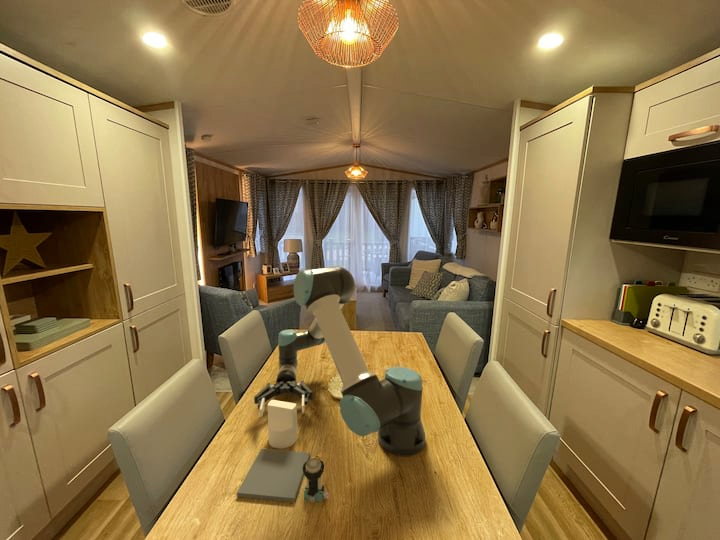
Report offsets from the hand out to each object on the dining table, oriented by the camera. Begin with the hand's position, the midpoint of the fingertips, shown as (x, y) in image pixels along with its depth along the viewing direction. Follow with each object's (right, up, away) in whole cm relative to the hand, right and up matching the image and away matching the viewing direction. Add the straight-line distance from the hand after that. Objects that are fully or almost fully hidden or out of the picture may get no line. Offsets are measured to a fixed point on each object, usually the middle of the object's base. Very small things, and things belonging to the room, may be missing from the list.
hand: (282, 411), depth 101 cm
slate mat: (+3, -10, -17) cm, 19 cm away
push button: (+15, -11, -23) cm, 30 cm away
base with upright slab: (+1, -8, -2) cm, 8 cm away
